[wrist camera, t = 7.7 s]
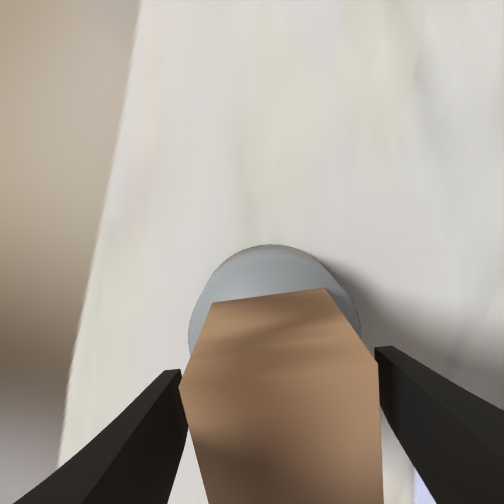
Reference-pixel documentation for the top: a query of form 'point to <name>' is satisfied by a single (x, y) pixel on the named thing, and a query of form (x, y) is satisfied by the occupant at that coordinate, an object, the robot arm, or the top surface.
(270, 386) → the walnut block
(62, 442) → the top surface
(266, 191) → the top surface
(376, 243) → the top surface
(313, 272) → the grey rounded dome
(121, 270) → the top surface
